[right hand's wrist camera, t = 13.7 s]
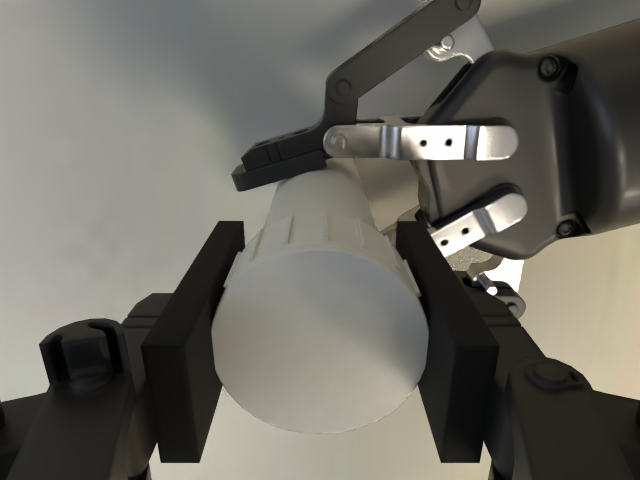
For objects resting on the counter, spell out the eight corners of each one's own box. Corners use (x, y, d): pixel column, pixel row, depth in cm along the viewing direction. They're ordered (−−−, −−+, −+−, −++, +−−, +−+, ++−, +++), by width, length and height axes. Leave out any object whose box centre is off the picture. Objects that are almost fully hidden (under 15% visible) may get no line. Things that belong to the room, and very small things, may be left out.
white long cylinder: (362, 203, 25) (418, 388, 11) (292, 217, 26) (258, 416, 11) (349, 131, 24) (393, 238, 10) (275, 147, 24) (210, 274, 10)
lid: (423, 213, 11) (449, 251, 9) (400, 376, 13) (416, 441, 11) (226, 203, 11) (202, 240, 9) (230, 368, 13) (211, 433, 11)
